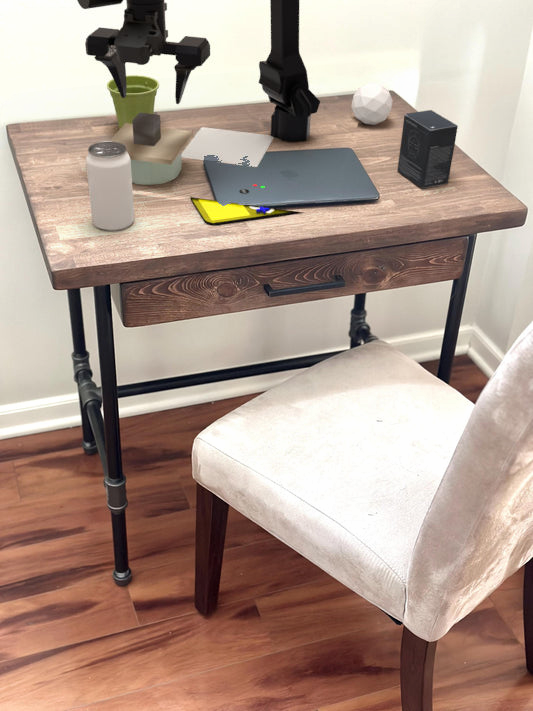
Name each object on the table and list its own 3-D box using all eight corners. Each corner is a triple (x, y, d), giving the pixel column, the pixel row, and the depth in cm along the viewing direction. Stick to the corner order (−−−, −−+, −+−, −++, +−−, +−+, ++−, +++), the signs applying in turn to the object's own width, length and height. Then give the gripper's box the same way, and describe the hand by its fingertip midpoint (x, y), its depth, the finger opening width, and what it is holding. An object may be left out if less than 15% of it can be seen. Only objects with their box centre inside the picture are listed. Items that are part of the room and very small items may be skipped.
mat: (274, 140, 161) (274, 135, 160) (256, 171, 150) (256, 167, 149) (201, 131, 163) (201, 126, 163) (179, 161, 152) (179, 156, 152)
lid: (192, 135, 148) (192, 108, 145) (171, 164, 138) (170, 136, 135) (125, 127, 149) (124, 100, 147) (100, 155, 140) (97, 127, 137)
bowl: (186, 167, 150) (186, 137, 147) (168, 192, 142) (167, 161, 139) (132, 160, 152) (130, 130, 149) (111, 184, 144) (108, 153, 141)
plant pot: (152, 142, 158) (150, 95, 153) (103, 136, 160) (99, 90, 155) (167, 123, 166) (165, 78, 161) (120, 117, 167) (116, 73, 162)
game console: (208, 231, 134) (208, 222, 133) (187, 199, 142) (186, 191, 141) (315, 214, 139) (315, 206, 138) (288, 185, 148) (288, 177, 147)
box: (448, 184, 148) (459, 125, 142) (421, 190, 146) (430, 130, 140) (422, 166, 154) (431, 108, 148) (395, 171, 152) (403, 112, 146)
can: (93, 212, 136) (86, 139, 129) (135, 211, 137) (130, 139, 130) (90, 232, 131) (83, 158, 124) (133, 231, 132) (128, 158, 124)
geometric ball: (359, 137, 170) (337, 105, 166) (376, 111, 174) (355, 79, 170) (389, 129, 164) (367, 95, 160) (406, 102, 168) (385, 68, 164)
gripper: (66, 8, 126) (77, 112, 136) (189, 20, 123) (192, 125, 133) (94, -12, 135) (103, 87, 144) (210, -1, 132) (211, 99, 141)
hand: (151, 100), depth 140 cm, fingers open, 9 cm apart
